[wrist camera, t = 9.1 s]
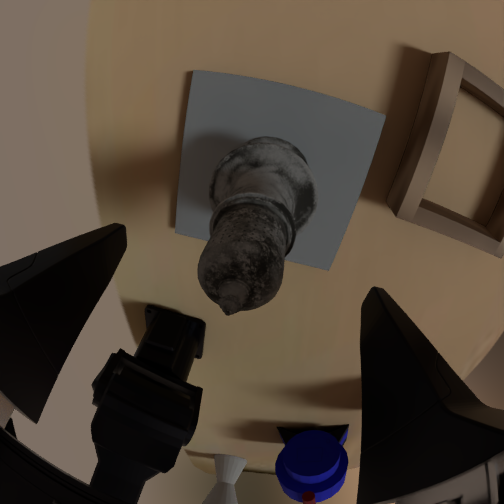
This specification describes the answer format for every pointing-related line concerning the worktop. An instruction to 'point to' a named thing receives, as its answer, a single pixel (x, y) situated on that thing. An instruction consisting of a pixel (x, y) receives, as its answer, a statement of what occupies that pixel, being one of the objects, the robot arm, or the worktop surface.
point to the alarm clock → (312, 464)
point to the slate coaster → (284, 127)
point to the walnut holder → (428, 149)
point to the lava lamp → (225, 479)
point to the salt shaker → (255, 221)
